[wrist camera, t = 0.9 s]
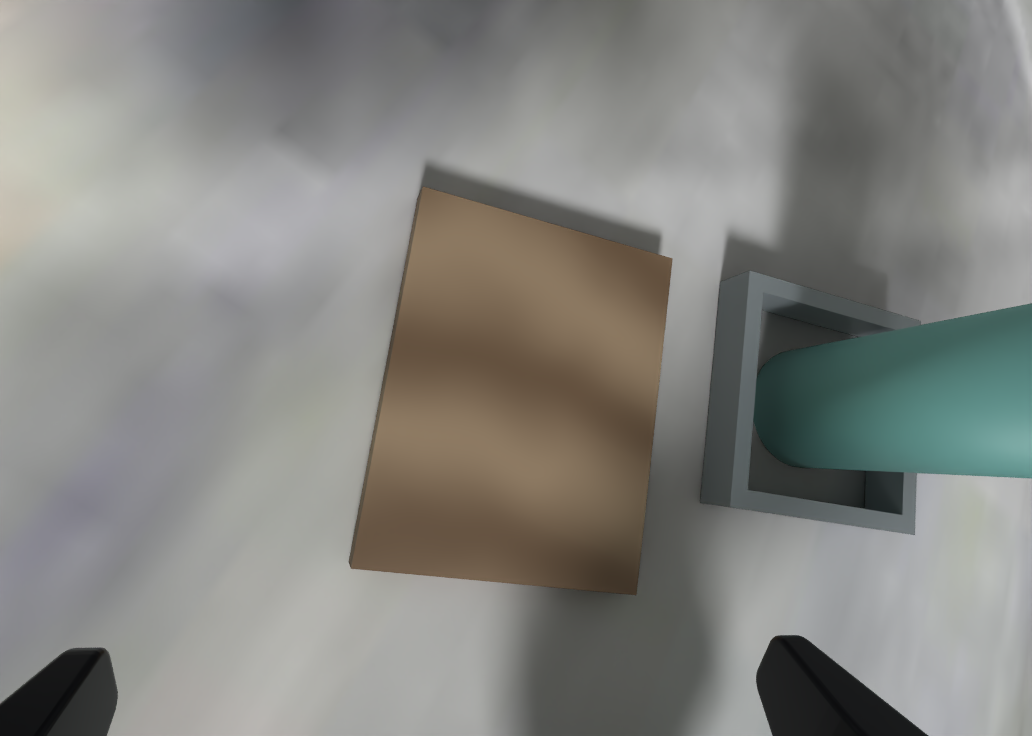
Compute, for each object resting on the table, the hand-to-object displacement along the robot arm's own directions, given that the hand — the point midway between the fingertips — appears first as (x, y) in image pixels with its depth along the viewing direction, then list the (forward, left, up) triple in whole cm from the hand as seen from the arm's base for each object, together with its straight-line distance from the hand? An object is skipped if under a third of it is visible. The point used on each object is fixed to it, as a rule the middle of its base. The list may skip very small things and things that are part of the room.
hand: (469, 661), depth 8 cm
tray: (+8, -19, -14) cm, 25 cm away
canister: (+8, -19, -14) cm, 25 cm away
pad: (+6, -5, -14) cm, 16 cm away
